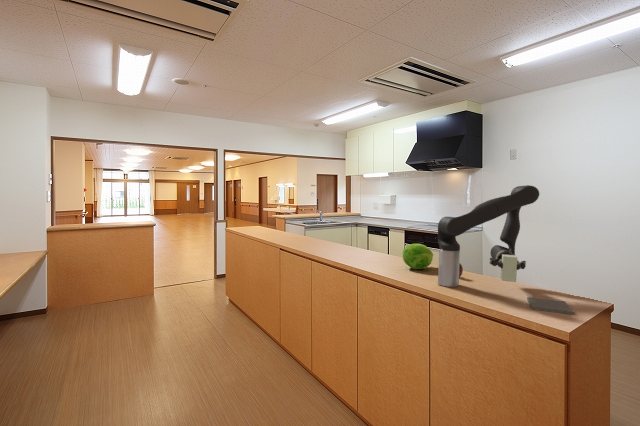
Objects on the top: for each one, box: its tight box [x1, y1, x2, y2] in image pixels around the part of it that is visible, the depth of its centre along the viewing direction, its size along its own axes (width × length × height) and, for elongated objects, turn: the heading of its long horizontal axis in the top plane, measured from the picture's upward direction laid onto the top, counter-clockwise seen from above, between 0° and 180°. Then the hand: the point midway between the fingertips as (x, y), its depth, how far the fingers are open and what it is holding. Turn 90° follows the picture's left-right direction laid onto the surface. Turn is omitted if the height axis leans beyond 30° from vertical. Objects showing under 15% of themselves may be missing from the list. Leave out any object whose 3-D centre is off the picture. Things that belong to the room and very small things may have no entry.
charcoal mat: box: [526, 296, 575, 315], centre depth 128 cm, size 13×13×1 cm
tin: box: [459, 262, 464, 278], centre depth 177 cm, size 15×3×8 cm, turn 21°
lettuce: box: [402, 243, 434, 270], centre depth 194 cm, size 17×20×15 cm
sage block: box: [500, 254, 518, 283], centre depth 134 cm, size 5×5×10 cm
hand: (509, 266), depth 131 cm, fingers closed on sage block, 5 cm apart
